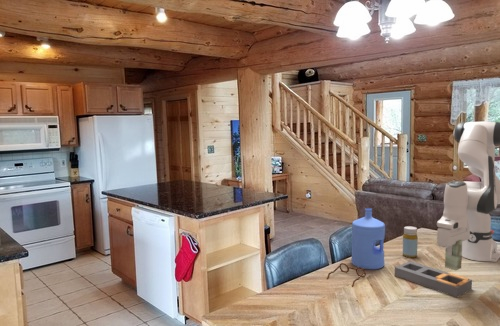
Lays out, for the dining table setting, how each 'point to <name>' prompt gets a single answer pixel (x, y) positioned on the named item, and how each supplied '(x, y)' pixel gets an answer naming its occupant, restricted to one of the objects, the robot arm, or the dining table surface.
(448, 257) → the peg
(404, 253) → the lidded canister
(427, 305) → the dining table surface
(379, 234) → the water jug
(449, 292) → the board
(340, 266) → the glasses
